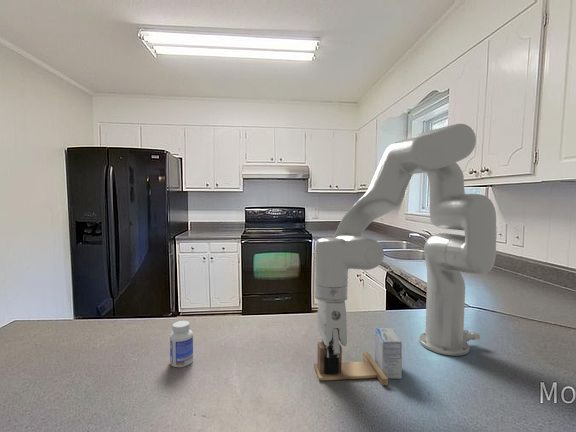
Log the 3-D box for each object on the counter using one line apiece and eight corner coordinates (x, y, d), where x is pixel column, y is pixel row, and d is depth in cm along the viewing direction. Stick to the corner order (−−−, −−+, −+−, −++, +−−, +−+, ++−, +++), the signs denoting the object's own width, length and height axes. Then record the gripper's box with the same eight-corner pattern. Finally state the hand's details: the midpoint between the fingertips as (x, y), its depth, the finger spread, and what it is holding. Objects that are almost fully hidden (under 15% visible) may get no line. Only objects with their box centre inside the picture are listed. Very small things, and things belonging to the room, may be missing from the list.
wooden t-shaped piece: (367, 357, 78) (368, 332, 78) (387, 385, 66) (388, 355, 66) (311, 359, 77) (312, 334, 77) (322, 388, 65) (322, 358, 65)
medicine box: (401, 379, 69) (402, 342, 69) (381, 378, 69) (382, 341, 69) (392, 361, 77) (393, 327, 76) (374, 360, 77) (375, 327, 77)
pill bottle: (197, 358, 77) (197, 321, 77) (183, 369, 72) (183, 329, 72) (179, 355, 79) (179, 318, 78) (165, 365, 74) (164, 326, 73)
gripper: (358, 302, 63) (356, 389, 63) (337, 281, 79) (335, 351, 80) (322, 303, 62) (320, 391, 63) (308, 282, 78) (307, 352, 79)
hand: (329, 368), depth 71 cm, fingers closed on wooden t-shaped piece, 3 cm apart
